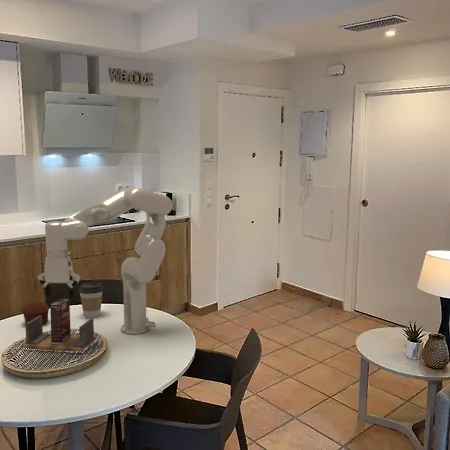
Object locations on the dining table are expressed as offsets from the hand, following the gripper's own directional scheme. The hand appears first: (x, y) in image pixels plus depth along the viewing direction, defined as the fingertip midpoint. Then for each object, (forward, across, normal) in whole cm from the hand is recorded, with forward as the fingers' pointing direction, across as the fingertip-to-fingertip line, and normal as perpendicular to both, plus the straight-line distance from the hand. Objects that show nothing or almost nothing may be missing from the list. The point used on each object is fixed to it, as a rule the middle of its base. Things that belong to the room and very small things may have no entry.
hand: (60, 296), depth 184 cm
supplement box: (+18, 0, 0) cm, 18 cm away
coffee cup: (+21, +4, -35) cm, 41 cm away
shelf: (+20, +1, +1) cm, 20 cm away
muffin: (+20, +24, -21) cm, 38 cm away
